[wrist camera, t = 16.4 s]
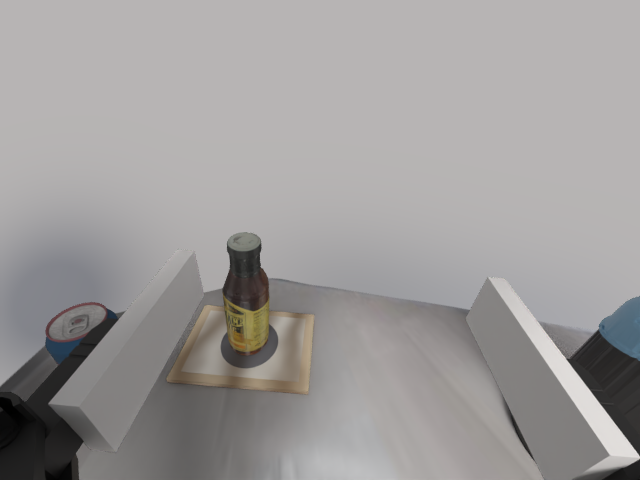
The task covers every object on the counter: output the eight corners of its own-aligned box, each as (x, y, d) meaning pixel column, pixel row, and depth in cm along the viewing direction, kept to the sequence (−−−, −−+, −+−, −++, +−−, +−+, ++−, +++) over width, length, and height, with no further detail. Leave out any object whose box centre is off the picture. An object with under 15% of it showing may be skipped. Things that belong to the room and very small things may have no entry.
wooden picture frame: (314, 317, 51) (314, 314, 51) (308, 394, 39) (308, 390, 39) (205, 308, 51) (205, 304, 51) (167, 382, 39) (165, 378, 39)
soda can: (82, 367, 40) (44, 309, 34) (138, 348, 43) (113, 292, 37) (77, 412, 35) (31, 355, 29) (140, 387, 38) (112, 330, 32)
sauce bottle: (223, 335, 45) (207, 231, 34) (259, 320, 48) (254, 221, 38) (238, 367, 41) (225, 260, 30) (276, 348, 44) (277, 245, 33)
